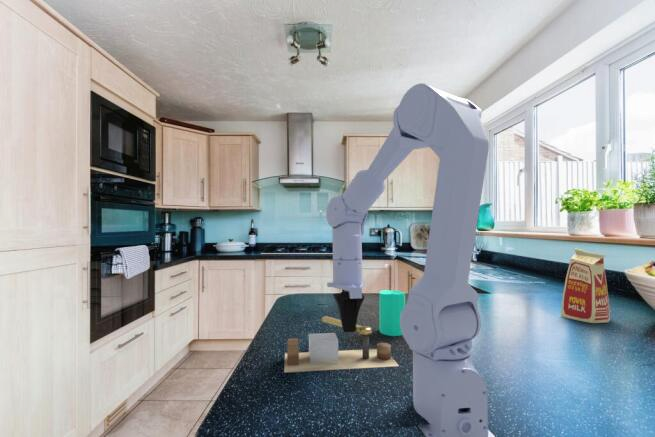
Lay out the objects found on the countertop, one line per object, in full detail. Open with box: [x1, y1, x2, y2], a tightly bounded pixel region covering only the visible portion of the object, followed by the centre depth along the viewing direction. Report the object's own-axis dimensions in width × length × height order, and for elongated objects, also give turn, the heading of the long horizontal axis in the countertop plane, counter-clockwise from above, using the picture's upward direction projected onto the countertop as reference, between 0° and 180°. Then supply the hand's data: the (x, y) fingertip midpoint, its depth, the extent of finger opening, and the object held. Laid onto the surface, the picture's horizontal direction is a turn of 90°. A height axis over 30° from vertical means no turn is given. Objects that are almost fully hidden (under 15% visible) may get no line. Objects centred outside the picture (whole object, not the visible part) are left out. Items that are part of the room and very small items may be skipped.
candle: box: [378, 289, 406, 337], centre depth 72 cm, size 6×6×12 cm
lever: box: [321, 315, 372, 336], centre depth 60 cm, size 2×12×1 cm, turn 45°
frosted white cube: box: [308, 332, 339, 366], centre depth 56 cm, size 4×5×4 cm
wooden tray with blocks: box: [283, 334, 400, 373], centre depth 56 cm, size 8×20×6 cm, turn 97°
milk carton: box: [560, 247, 611, 324], centre depth 88 cm, size 9×9×20 cm
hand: (348, 331), depth 58 cm, fingers closed, pressing on lever
